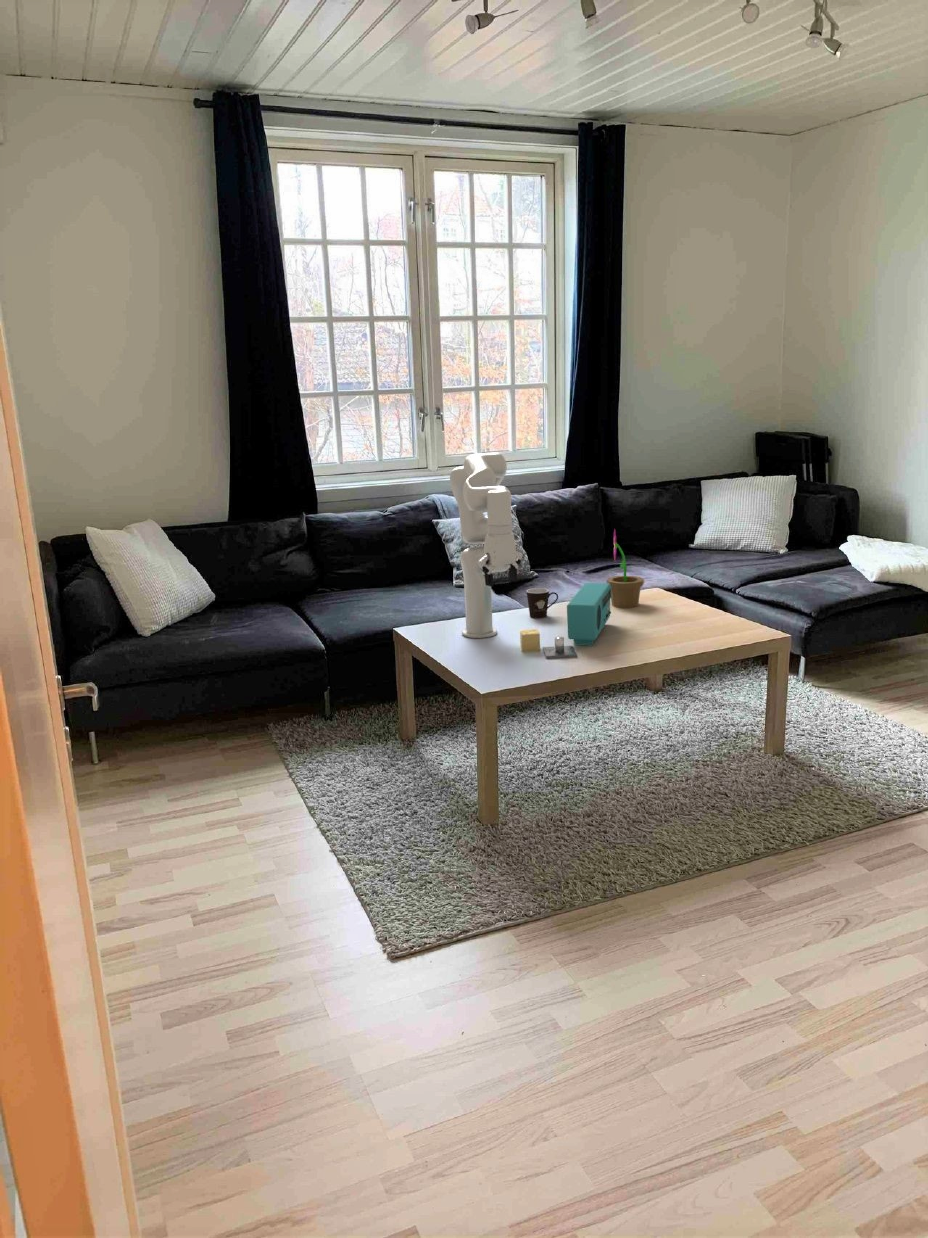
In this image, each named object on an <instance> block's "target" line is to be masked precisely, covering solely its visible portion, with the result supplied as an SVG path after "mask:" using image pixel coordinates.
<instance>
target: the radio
mask: <svg viewBox="0 0 928 1238" xmlns="http://www.w3.org/2000/svg"><path fill="white" fill-rule="evenodd" d="M611 614H612V611H611V585H610V584H609V583H607V582H585V583H584V584H583V585H582V586H581V587H580V589H579V590H578V591H577V593H576V594H575V595H574V596H573V597H572V599H571V600H569V602H568V604H567V605H566V618H567V619H566V620H567V621H566V622H567V623H566V624H567V638H568V640H573V642H574V645H581V646H591V647H592V646H593V644H594V641H596V640H597V638H598V636H599V635H600V633H601V632H602V630H603V629H604V627H605V626H606V624H607V622H608V620H609V619H610V617H611Z"/></svg>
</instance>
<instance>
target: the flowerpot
mask: <svg viewBox="0 0 928 1238" xmlns="http://www.w3.org/2000/svg"><path fill="white" fill-rule="evenodd" d="M613 530H614V531H613V546H614V547H613V560H614V562H616V561H617V549H618V550H619V552H620V555H621V558H622V561H621V564H620V565H619V567H620V568H621V569H623V575H615V576H611V577H608V578H607V579H606V583H609V584H610V585H611V598H610V603H611V606H612V607H614V608H619V609H632V608H636V607H638V606H639V602H640V594H641V587H643V586H644V585H645V579H644V578H643V577H641V576H636V575H627V570H628V568H627V562H626V556H625V554H624V551H623V549H622V548H621V546H620V545H619V544H618V542H617V535H616V533H617V531H616V529H615V528H614V529H613Z"/></svg>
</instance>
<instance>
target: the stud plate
mask: <svg viewBox="0 0 928 1238" xmlns="http://www.w3.org/2000/svg"><path fill="white" fill-rule="evenodd" d="M542 652H543V654H544V657H545V659H546V660H550V659H569V658H571V659H573V658H578V654H577V652H576V650H575V648H574V646H573V645H565V638H564V637H563V636H556V637H554V646H543V647H542Z"/></svg>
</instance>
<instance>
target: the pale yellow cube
mask: <svg viewBox="0 0 928 1238" xmlns="http://www.w3.org/2000/svg"><path fill="white" fill-rule="evenodd" d="M519 633H520V634H519V635H520V637H519V639H520V640H519V641H520V649H521V652H522V653H525V652H526V653H527V652H531V653H532V652H541V634H540V632H539V629H538V628H534V629H533V628H531V629H530V628H529V629H520V630H519Z"/></svg>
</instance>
